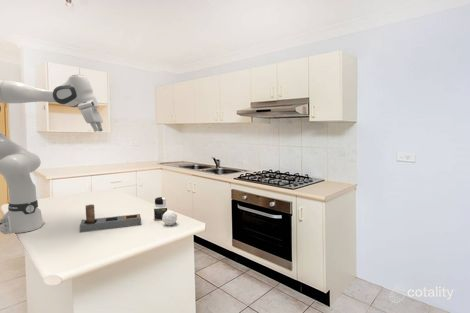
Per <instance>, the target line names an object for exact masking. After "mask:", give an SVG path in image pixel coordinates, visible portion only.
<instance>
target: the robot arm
mask: <svg viewBox="0 0 470 313" xmlns="http://www.w3.org/2000/svg"><path fill="white" fill-rule="evenodd" d="M93 90H94V89H93V88H92V86H91V83H90V81H89V79H88V78H87V77H86V76H84V75H82V74H73V75H70V76H69V77H68V79H67V80H66V81H65V82H63V83H62V84H60V85H59V86H56V87H55V88H54V89H53V90H52V89H43V88H38V87H35V86H32V85H30V84H27V83H24V82H20V81H15V80H5V79H0V104H1V103H2V104H25V103H27V104H28V103H37V102H39V103H40V102H45V103H47V102H48V103H55V104H59V105H62V106H63V105H64V106H67V107H71V108H77V109H78V111H80V113H81V114H82V117H83V119H84V121H85V122H86V123H87V124H90V126H91V128H92V129H93V132H103V131H104V129H103V128H102V123H104V122H103V119H102V116H101V114H100V113H101V112H99V110H98V108H99V107H100V106H99V104H98V101H97V98H96V96H95V94H94V93H93V92H94V91H93ZM1 110H2V107H1V105H0V112H2V111H1ZM40 166H41V159H40V157H39V155H37V154H35V153H33V152H31V151H29V150H27V149H26V148H24V147H22V145H19V144H18V143H15V142H14V141H13V140H12V139H9V137H8V136H7V135H5V134H4V133H3V132H1V131H0V174H1V175H2V176H3V178H4V180H5V182H6V185H7V188H8V198H9V203H8V206H7V207H8V208H7V210H8V211H6V213H5V214H4V215H3V216H2V218H1V219H0V232H1V233H2V234H3V235H10V234H18V233H21V234H22V233H27V232H31V231H36V230H38V229H40V228H41V227H42V226H43V225H45V224H46V221H45V220H44V221H43V216H42V210H41V208H39V202H38V199H37V186H36V184H35V183H34V182H33V180H32V178H31V173H34V172H35V171H37V169H39V167H40Z"/></svg>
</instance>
